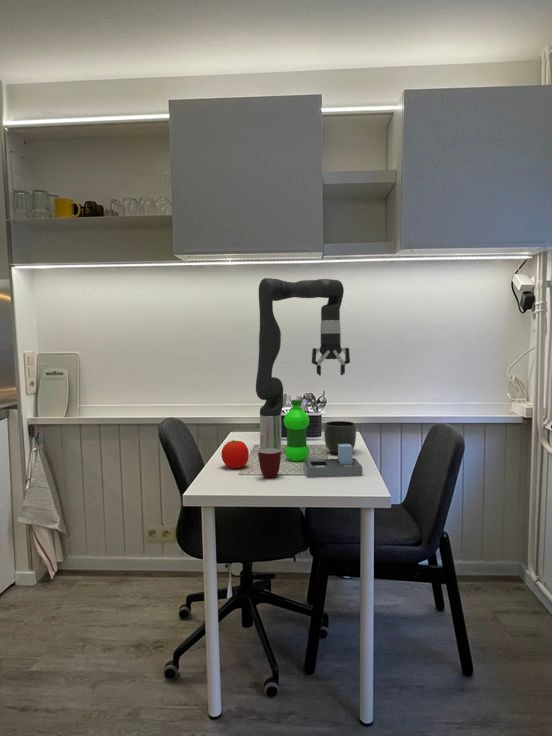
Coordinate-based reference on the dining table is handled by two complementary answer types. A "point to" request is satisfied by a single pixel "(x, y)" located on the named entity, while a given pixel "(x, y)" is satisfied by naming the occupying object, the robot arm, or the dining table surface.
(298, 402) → the plastic bottle
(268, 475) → the mug
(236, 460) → the tomato
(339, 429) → the planter
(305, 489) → the dining table surface
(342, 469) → the panel
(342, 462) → the plug
